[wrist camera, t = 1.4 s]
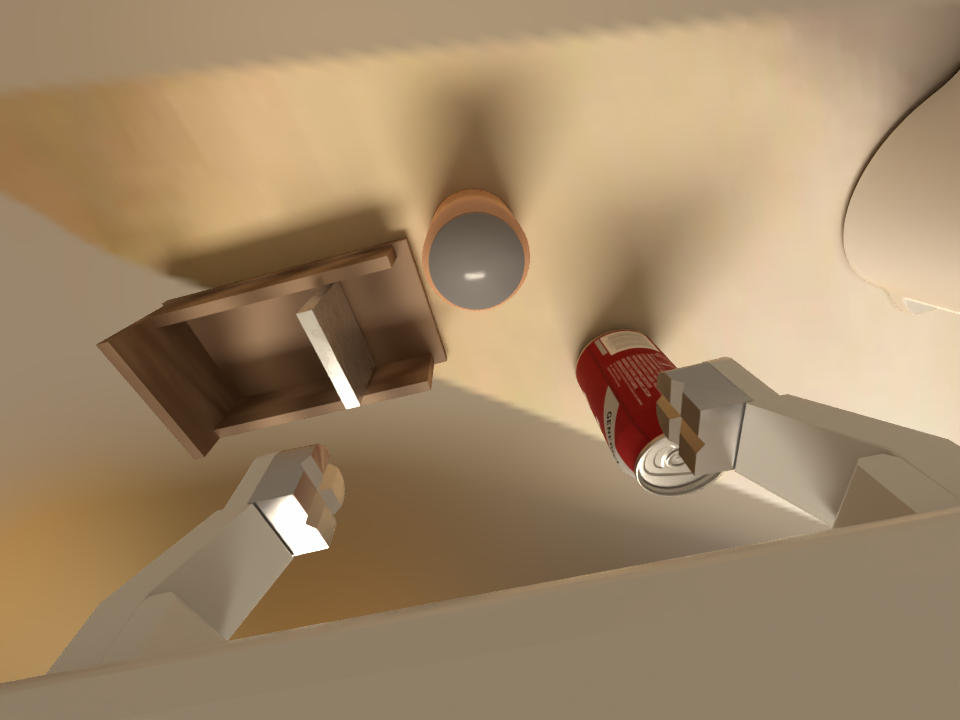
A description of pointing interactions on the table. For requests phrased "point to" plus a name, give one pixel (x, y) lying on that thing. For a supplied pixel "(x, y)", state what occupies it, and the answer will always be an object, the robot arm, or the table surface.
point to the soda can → (634, 411)
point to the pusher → (338, 342)
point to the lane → (276, 347)
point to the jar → (475, 251)
